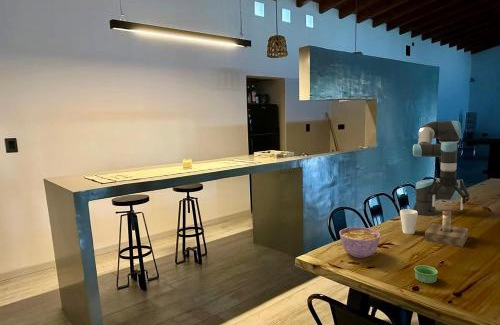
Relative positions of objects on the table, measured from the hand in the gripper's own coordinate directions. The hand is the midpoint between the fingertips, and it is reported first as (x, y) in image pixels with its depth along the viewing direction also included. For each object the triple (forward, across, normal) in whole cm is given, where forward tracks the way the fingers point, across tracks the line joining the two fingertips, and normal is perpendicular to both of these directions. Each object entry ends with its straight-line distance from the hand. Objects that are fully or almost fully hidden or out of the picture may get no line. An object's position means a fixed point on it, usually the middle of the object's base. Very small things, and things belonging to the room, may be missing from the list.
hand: (447, 207), depth 184 cm
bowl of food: (+18, -31, -48) cm, 59 cm away
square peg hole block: (+18, 0, 0) cm, 18 cm away
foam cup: (+18, -20, 0) cm, 27 cm away
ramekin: (+18, +2, -56) cm, 59 cm away
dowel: (+18, 0, 0) cm, 18 cm away
